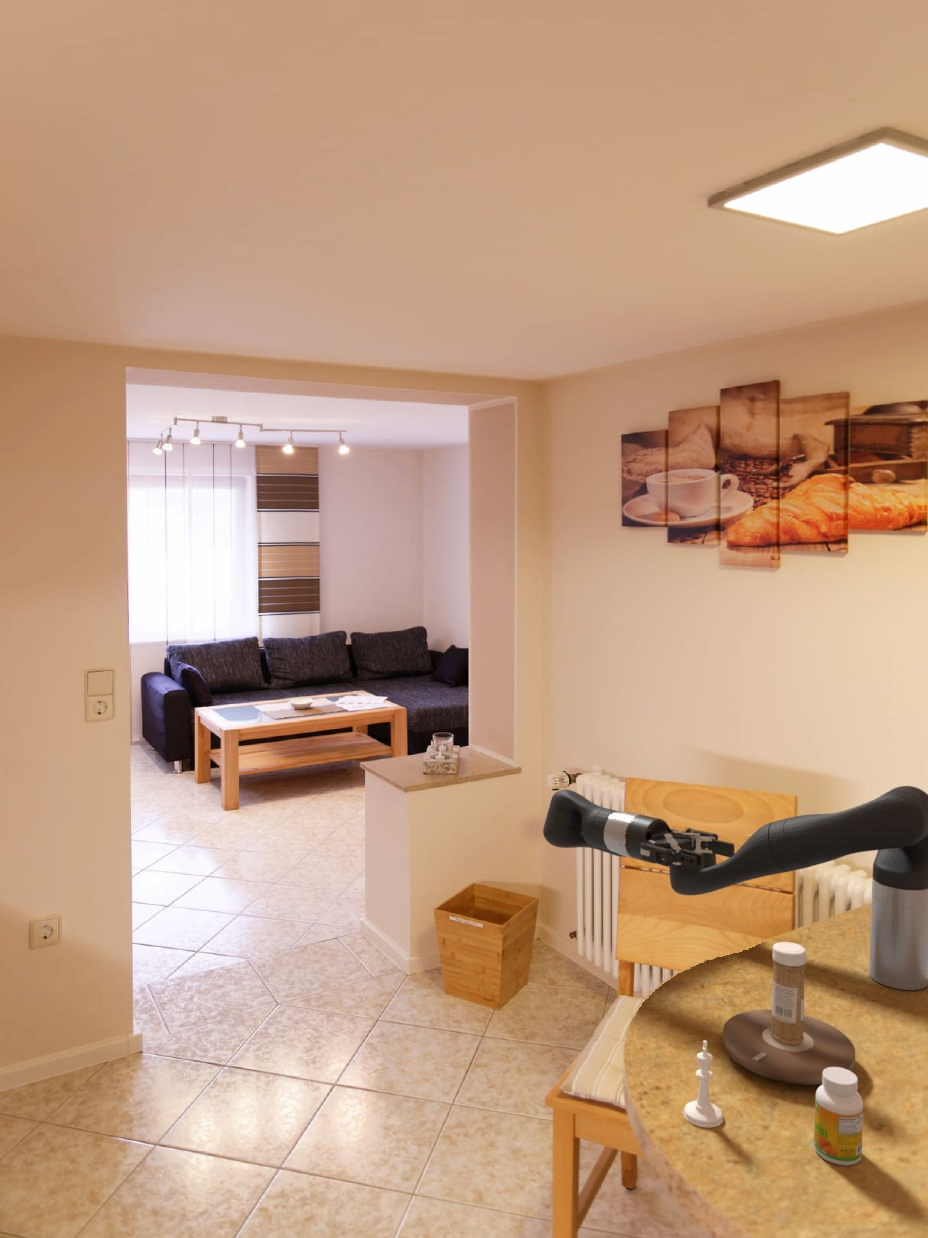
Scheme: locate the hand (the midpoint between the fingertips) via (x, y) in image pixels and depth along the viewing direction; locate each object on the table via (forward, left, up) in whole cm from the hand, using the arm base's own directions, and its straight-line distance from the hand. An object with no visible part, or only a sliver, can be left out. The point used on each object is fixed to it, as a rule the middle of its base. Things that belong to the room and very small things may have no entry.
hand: (718, 856), depth 148 cm
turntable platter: (+5, +16, -23) cm, 29 cm away
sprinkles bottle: (+5, +16, -22) cm, 28 cm away
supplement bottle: (+20, +31, -25) cm, 45 cm away
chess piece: (+26, +16, -25) cm, 40 cm away
